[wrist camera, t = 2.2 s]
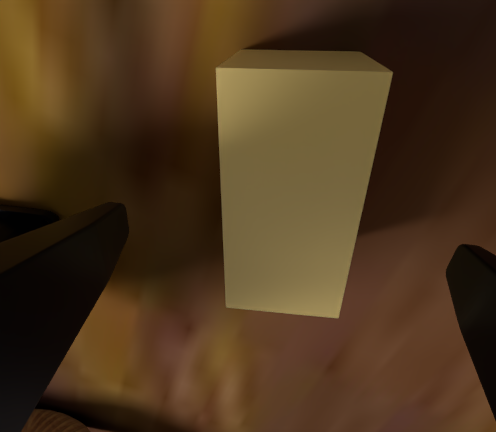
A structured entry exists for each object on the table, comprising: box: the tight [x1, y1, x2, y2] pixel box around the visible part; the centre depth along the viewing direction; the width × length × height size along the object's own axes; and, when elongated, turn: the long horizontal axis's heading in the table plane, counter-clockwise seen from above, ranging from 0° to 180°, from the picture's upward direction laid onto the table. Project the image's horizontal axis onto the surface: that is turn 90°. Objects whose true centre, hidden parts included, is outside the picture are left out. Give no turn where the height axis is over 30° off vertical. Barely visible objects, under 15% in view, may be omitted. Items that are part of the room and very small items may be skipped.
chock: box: [216, 49, 393, 318], centre depth 12 cm, size 4×8×4 cm, turn 0°
